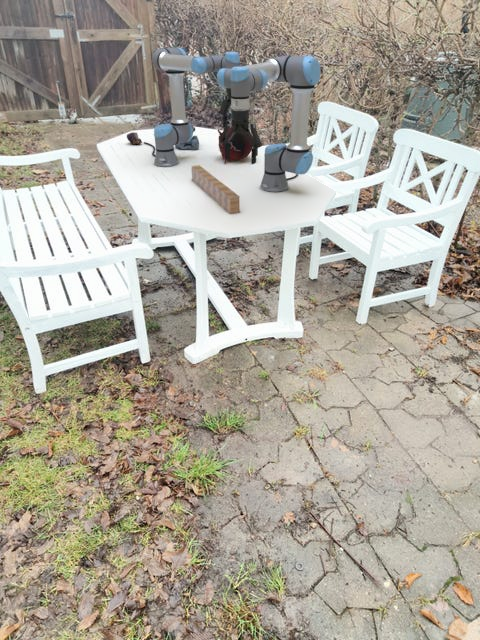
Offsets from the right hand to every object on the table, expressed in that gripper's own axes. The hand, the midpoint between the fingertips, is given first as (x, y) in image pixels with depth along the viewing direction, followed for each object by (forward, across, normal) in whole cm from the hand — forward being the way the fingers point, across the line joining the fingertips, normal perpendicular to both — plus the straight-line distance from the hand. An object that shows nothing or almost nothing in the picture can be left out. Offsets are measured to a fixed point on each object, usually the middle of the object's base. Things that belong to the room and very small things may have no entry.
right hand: (240, 161), depth 199 cm
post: (+27, -32, +23) cm, 47 cm away
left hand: (0, -43, +60) cm, 74 cm away
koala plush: (+27, -107, +96) cm, 147 cm away
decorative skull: (+27, -60, +89) cm, 110 cm away
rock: (+27, -148, +84) cm, 173 cm away
